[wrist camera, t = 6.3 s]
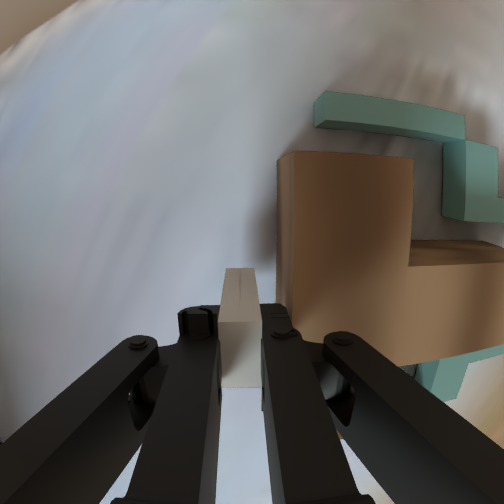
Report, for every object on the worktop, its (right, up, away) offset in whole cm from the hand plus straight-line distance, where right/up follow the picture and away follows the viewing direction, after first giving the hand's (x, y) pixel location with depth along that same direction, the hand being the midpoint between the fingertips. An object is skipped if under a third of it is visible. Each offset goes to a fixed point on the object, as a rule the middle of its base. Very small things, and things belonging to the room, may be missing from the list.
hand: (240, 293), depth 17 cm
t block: (+9, 0, +2) cm, 10 cm away
